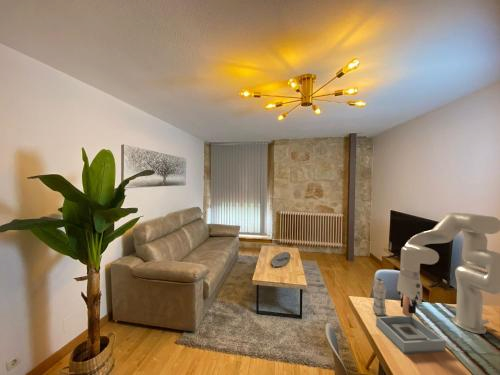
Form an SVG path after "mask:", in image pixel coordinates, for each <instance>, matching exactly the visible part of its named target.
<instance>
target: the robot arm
mask: <svg viewBox="0 0 500 375" xmlns="http://www.w3.org/2000/svg"><path fill="white" fill-rule="evenodd" d="M460 232H462V234H463V245H462V250H461V258H462V261H464V262H465V263H467V264H469V265H471V266H469V265H459V266H457V267H456V268H455V270H454V275H455V280H456V289H457V290H456V312H455V313H456V314H455V315H456V316H453V317H452V318H451V320H452V322H453V324H454V325H455V326H457V327H459V328H461V329H463V330H464V331H468V332H469V333H474V334H477V335H478V334H479V335H480V334H481V335H482V334H483V335H484V334H486V333H487V328H486V327H485V326H484V325H486V324H490V320H489V319H487V318H483V308H484V306H483V304H484V297H483V294H482V291H484V292H486V293H488V294H491V295H500V253H499V252H497V251H492V250H489V249H488V237H487V236H486V234H487V235H494V234H497V233H499V232H500V219H499V218H498V217H495V216H491V215H490V216H489V215H484V214H483V215H481V214H473V213H461V212H449V213H447V214H446V215H445V216H443V218H442V219H441V220H440V221H439V222H437V224H436V225H435V226H434V227H433V228H432V229H430V230H426V231H422V232H420V233H417V234H415V235H413V236H412V237H410V239H408V240H407V241H406V243H405V244H404V246H402V247H401V250H400V266H399V267H400V268H399V269H400V270H399V274H398V278H397V287H396V290H397V292H398V294H399V298H400V308H403V294H405V296H407V297H408V298H409V300H410V305H409V310H408V312H409V313H413V314H416V310H417V306H418V305H419V306H420V305H423V301H422V300H423V284H422V280H421V274H420V271H421V269H420V268H421V264H424V265H435V264H436V263H438V262H439V259H440V255H439V253H438V252H437V251H436V250H434V249H432V248H429V247H426V245H430V244H446V243H450V242H452V240H453V239H454V238H456V237H457V235H458V234H459V233H460ZM472 266H476V267H477V268H475V267H472ZM478 267H479V268H481V269H479V268H478ZM482 269H484V270H482ZM485 270H486V271H485Z"/></svg>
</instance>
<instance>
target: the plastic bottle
mask: <svg viewBox="0 0 500 375" xmlns="http://www.w3.org/2000/svg"><path fill="white" fill-rule="evenodd" d="M384 284H385V282H384V279H383V278H376V280H375V283H374V285H373V286H372V290H373V303H372V311H373V313H374V314H376V315H378V316H380V317H384V316H385V315H386V313H387V307H386V302H385V301H386V294H387V288H386V286H385V285H384Z"/></svg>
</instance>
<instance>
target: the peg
mask: <svg viewBox="0 0 500 375" xmlns="http://www.w3.org/2000/svg"><path fill="white" fill-rule="evenodd" d="M409 305H410V300H409V298H408V297H407V296H405V294H403V307H402V314H403V316H409V317H412V316H413V317H414V315H413V314H414V313H409V312H408V310H409Z"/></svg>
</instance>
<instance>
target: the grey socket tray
mask: <svg viewBox="0 0 500 375" xmlns="http://www.w3.org/2000/svg"><path fill="white" fill-rule="evenodd" d="M375 319H376V320H375V324H376V325H375V327H377V329H378V330H379V331H380V332H381V333H382V334H383V335H384V336H385V338H387V339H388V340H389V341H390V343H392V344H393V345H394V346H395V347H396V348H397V349H398V350H399V351H400V352H401V353H402V354H403V355H408V354H409V355H410V354H423V353H424V354H425V353H442V352H446V340H445V339H444V338H443V337H441V336H440V335H438V334H437V333H436V332H435V331H433V330H432V329H431V328H429V327H428V326H427V325H425V324H424V323H423V322H421V321H420V320H418V319H417V318H416V317H415V316H414V315H413V316H412V317H409V316H406V315H391V316H390V315H389V316H376V318H375Z"/></svg>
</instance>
